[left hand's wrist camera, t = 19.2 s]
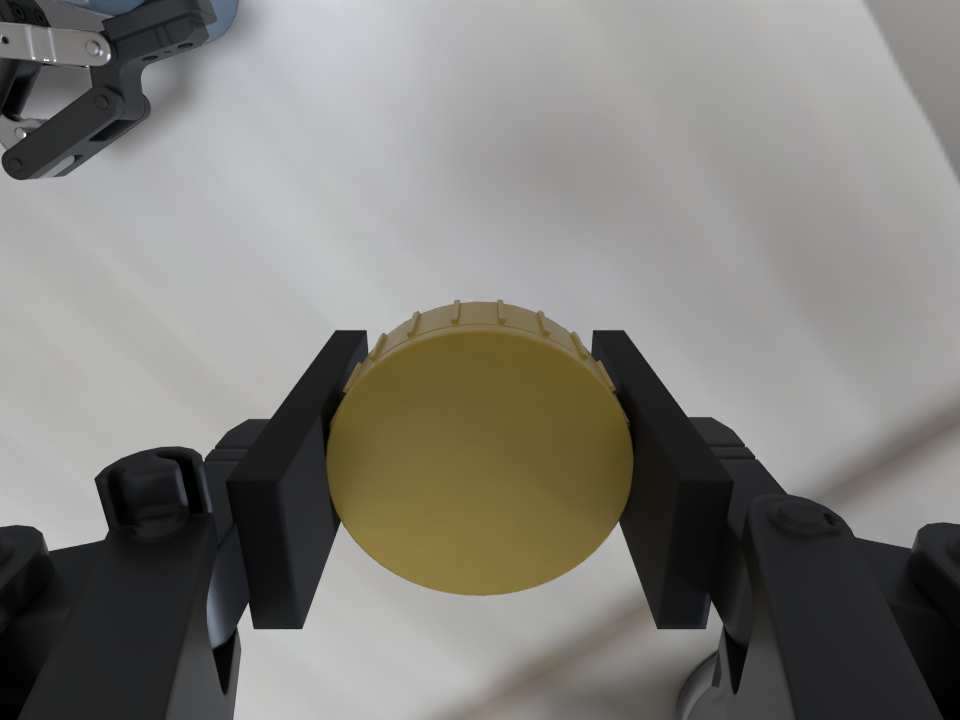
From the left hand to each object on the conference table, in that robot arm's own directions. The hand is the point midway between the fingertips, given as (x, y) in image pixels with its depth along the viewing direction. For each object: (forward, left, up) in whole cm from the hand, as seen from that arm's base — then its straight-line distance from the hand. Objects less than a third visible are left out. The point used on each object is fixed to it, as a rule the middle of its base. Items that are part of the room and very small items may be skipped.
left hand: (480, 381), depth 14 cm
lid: (0, 0, +4) cm, 4 cm away
